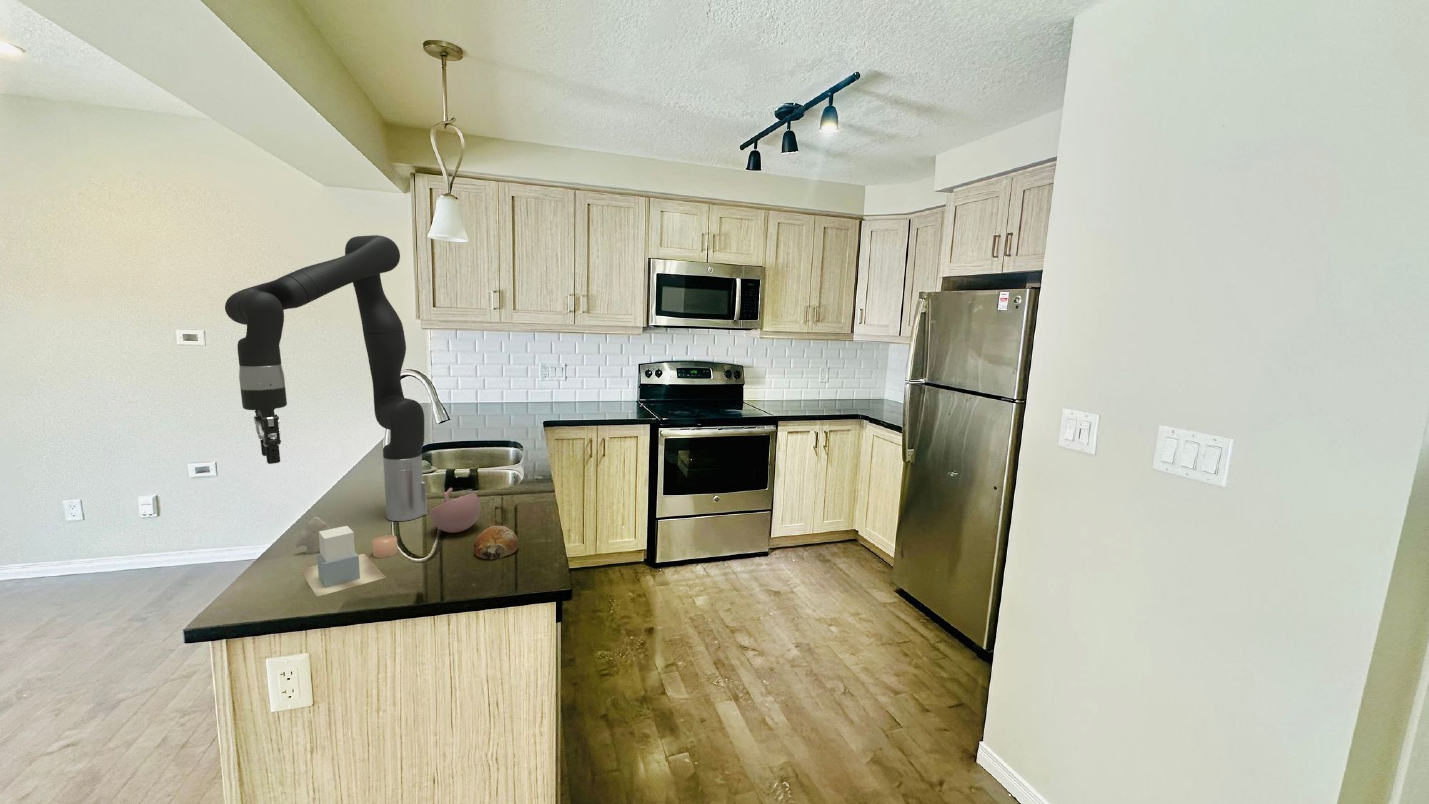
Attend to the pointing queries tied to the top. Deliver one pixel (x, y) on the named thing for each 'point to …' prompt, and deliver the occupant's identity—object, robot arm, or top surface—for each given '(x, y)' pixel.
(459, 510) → the mortar and pestle
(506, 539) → the bread roll
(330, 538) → the tower upper
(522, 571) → the top surface
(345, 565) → the tower lower
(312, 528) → the arrowhead
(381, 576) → the board
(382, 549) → the peach cylinder
